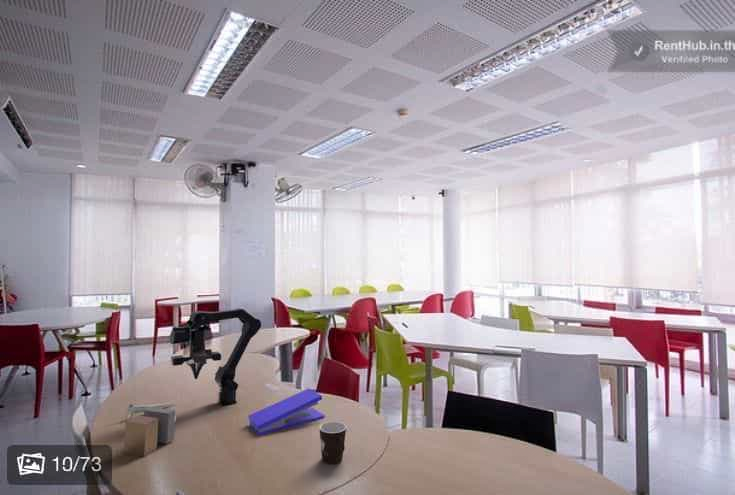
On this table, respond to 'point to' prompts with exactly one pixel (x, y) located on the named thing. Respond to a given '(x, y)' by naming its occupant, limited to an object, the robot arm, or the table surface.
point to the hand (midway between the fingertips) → (195, 378)
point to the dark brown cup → (332, 441)
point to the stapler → (287, 413)
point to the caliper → (141, 409)
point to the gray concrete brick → (163, 423)
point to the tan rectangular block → (141, 435)
